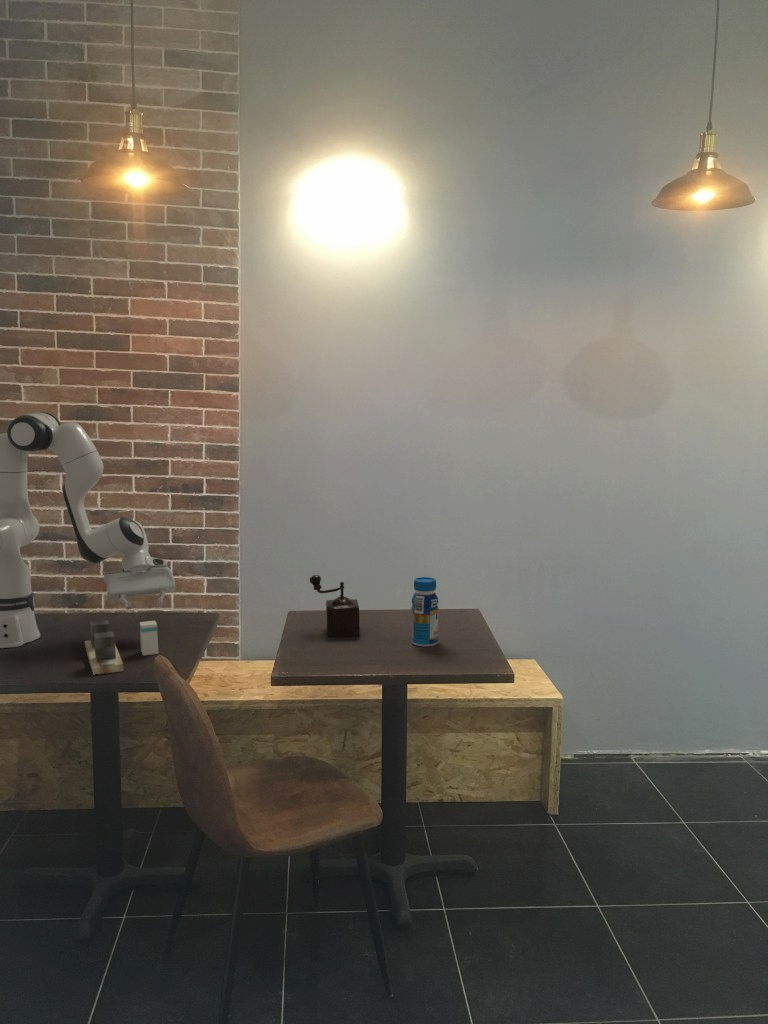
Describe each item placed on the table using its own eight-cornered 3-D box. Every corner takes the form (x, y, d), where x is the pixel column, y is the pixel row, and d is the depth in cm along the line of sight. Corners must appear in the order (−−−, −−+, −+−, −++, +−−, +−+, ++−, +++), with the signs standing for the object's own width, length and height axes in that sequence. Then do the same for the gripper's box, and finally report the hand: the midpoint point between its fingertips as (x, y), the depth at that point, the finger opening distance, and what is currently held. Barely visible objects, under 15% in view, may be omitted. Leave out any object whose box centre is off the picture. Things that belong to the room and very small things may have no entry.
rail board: (93, 675, 225) (91, 643, 224) (85, 647, 248) (83, 618, 247) (123, 670, 228) (121, 639, 227) (112, 643, 252) (111, 615, 250)
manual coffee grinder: (357, 626, 270) (357, 572, 267) (360, 636, 259) (359, 580, 256) (310, 627, 268) (309, 573, 265) (310, 638, 257) (309, 582, 254)
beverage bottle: (406, 640, 255) (407, 577, 251) (432, 637, 257) (432, 575, 254) (416, 648, 247) (417, 583, 244) (442, 645, 249) (443, 581, 246)
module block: (143, 655, 241) (141, 626, 240) (141, 651, 245) (139, 622, 243) (158, 653, 243) (157, 624, 241) (156, 649, 246) (154, 620, 245)
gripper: (103, 566, 250) (109, 605, 243) (171, 559, 258) (179, 596, 251) (102, 577, 255) (108, 616, 247) (169, 570, 263) (177, 607, 256)
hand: (144, 606), depth 249 cm, fingers open, 8 cm apart
